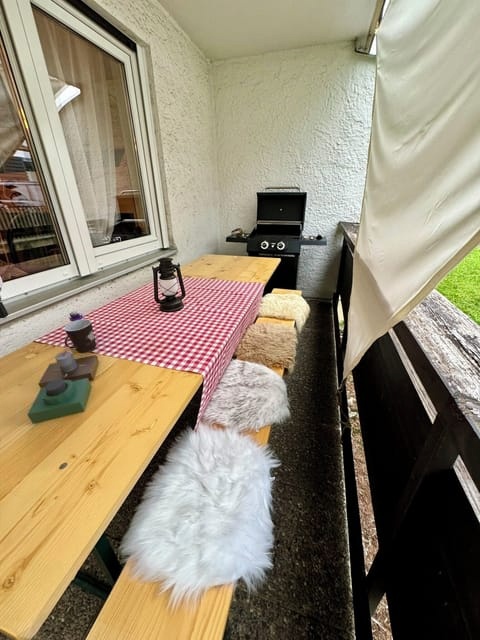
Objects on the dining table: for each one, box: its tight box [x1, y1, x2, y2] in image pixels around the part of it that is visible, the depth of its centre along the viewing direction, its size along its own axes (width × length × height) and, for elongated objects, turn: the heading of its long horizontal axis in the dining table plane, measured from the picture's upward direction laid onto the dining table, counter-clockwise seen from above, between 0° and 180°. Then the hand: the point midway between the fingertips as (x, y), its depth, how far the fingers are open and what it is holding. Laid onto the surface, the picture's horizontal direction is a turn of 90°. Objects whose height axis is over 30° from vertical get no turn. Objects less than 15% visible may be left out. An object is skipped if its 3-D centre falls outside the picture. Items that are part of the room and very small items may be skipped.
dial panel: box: [38, 354, 100, 389], centre depth 82 cm, size 14×10×3 cm
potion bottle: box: [68, 310, 84, 330], centre depth 99 cm, size 9×9×12 cm
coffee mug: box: [63, 318, 97, 354], centre depth 93 cm, size 12×9×10 cm
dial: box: [54, 349, 77, 373], centre depth 80 cm, size 4×4×5 cm
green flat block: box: [27, 378, 93, 425], centre depth 70 cm, size 12×10×6 cm
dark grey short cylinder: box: [45, 379, 67, 396], centre depth 69 cm, size 4×4×2 cm
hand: (0, 317), depth 69 cm, fingers closed
